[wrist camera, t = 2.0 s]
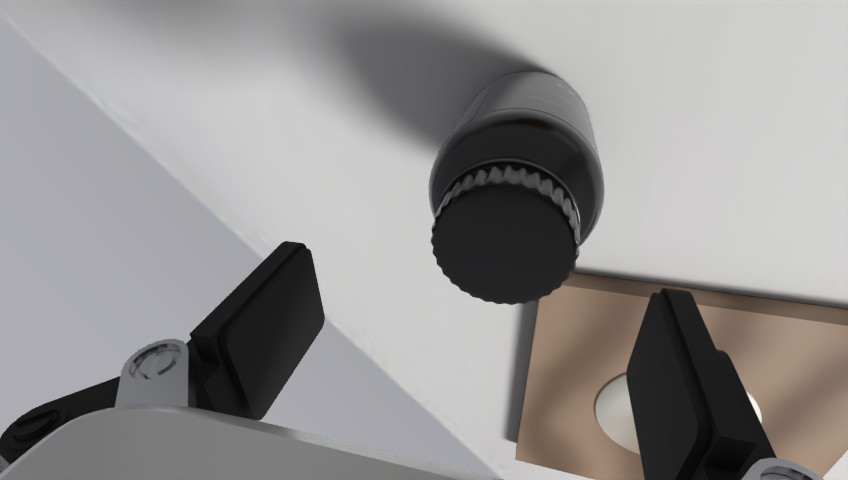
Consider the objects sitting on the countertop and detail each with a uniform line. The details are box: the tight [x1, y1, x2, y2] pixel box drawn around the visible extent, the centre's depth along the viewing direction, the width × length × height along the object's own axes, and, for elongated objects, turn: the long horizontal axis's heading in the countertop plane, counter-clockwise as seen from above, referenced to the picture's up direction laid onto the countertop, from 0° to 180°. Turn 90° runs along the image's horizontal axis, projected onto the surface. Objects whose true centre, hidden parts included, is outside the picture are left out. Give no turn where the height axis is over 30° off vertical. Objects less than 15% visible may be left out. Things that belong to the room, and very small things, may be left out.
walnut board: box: [515, 272, 848, 480], centre depth 30 cm, size 20×20×2 cm
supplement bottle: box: [429, 71, 604, 305], centre depth 18 cm, size 7×7×12 cm
